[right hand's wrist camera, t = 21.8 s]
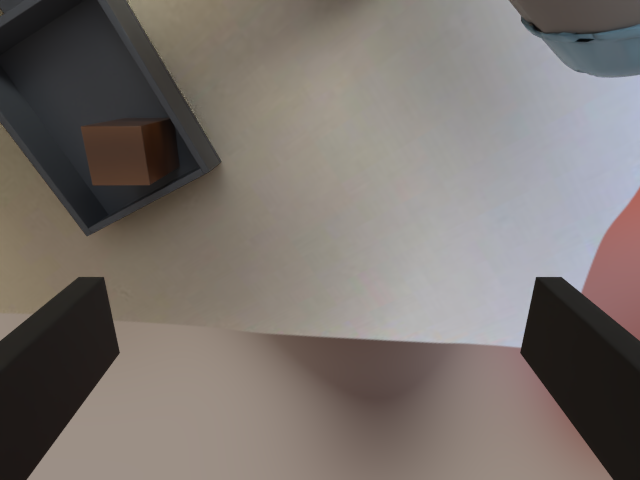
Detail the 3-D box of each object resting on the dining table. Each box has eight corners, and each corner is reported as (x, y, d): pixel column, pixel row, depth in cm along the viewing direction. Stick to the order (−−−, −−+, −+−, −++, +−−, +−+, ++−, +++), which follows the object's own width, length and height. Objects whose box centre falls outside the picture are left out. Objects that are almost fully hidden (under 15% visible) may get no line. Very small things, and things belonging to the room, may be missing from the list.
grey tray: (-68, -25, 34) (-159, -50, 28) (58, -114, 32) (-8, -164, 26) (110, 220, 42) (72, 246, 35) (221, 161, 40) (202, 177, 33)
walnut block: (124, 117, 38) (80, 126, 31) (173, 117, 38) (140, 126, 31) (132, 166, 39) (92, 185, 32) (180, 166, 39) (149, 185, 32)
